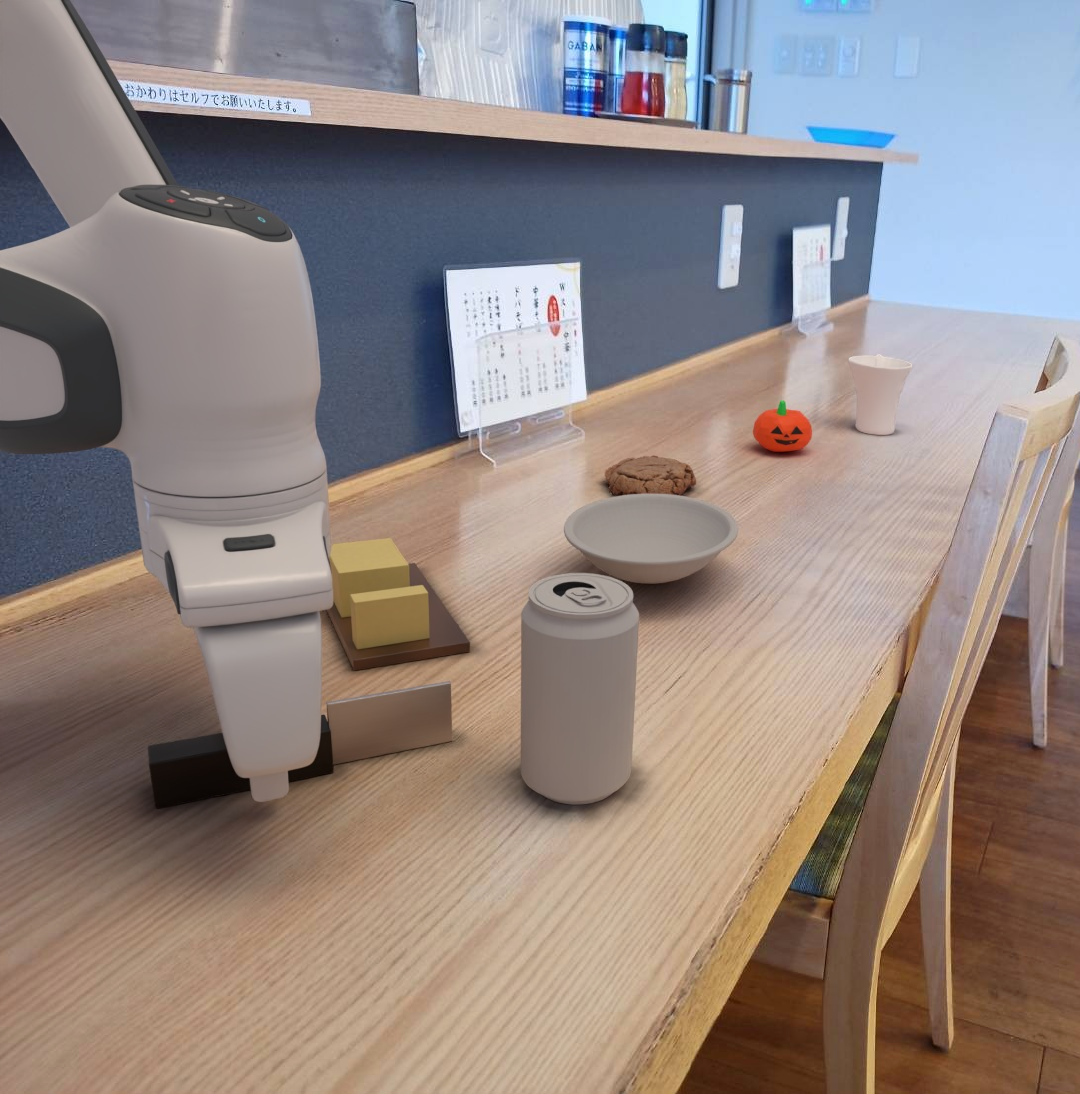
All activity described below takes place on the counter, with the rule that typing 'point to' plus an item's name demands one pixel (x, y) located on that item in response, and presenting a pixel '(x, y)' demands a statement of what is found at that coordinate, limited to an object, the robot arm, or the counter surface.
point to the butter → (365, 570)
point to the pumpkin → (782, 429)
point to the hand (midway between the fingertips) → (260, 758)
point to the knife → (344, 738)
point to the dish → (650, 535)
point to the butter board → (440, 642)
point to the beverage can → (578, 686)
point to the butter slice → (389, 616)
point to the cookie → (649, 476)
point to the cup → (878, 391)
